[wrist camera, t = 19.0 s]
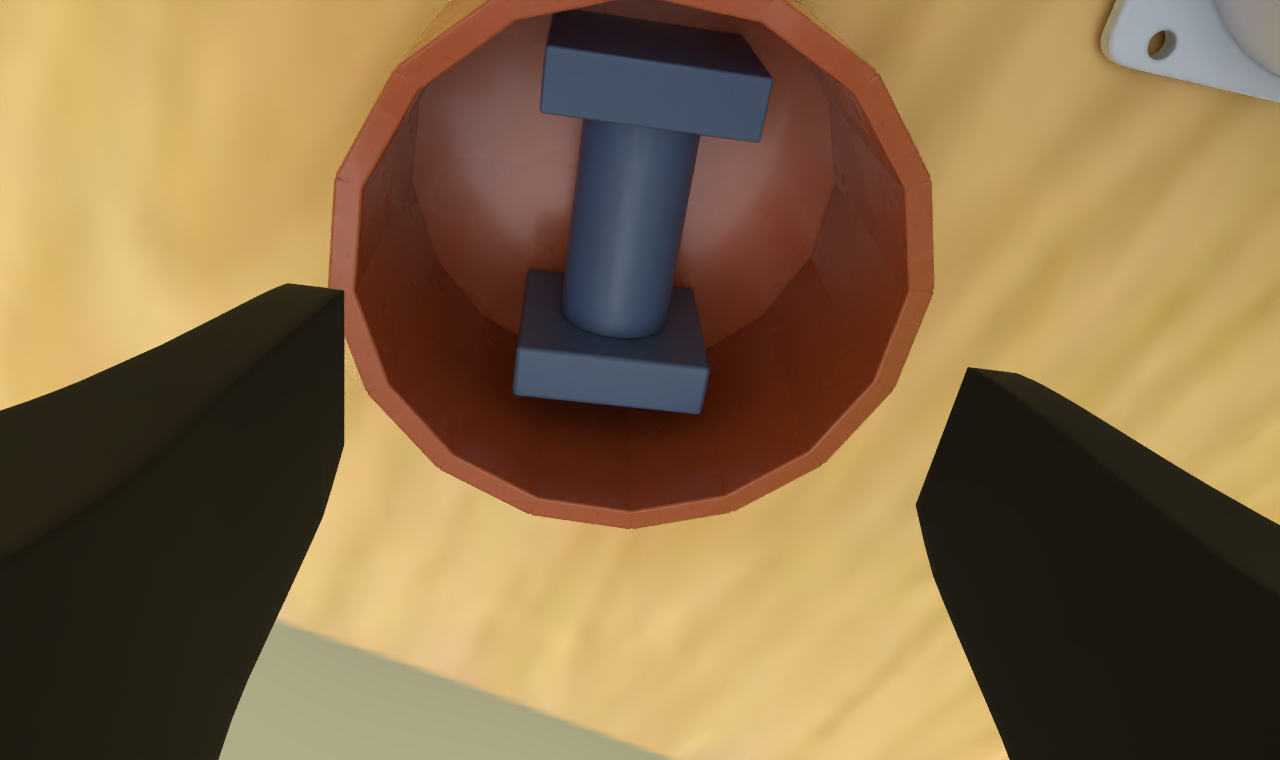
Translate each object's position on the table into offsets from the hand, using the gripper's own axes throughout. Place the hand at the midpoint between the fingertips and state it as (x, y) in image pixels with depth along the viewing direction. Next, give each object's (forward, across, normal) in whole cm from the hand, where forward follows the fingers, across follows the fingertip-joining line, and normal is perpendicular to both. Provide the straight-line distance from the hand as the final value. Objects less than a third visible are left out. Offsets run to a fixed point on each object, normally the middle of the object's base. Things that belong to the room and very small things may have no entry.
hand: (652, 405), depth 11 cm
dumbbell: (+8, 0, 0) cm, 8 cm away
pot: (+9, 0, 0) cm, 9 cm away
